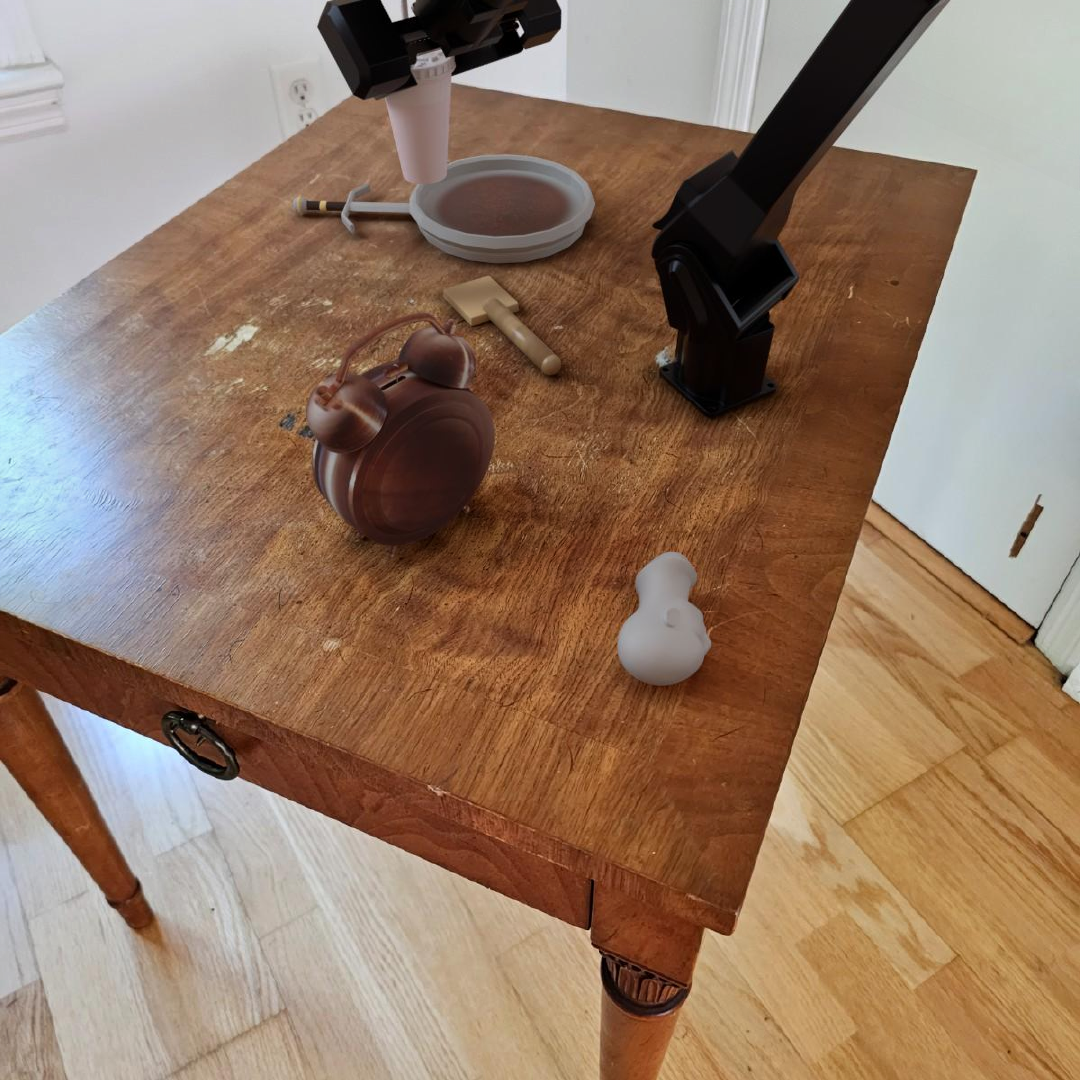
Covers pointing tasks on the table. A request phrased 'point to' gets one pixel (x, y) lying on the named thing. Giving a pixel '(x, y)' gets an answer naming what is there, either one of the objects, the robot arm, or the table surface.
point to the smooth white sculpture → (664, 624)
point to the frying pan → (489, 208)
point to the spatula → (500, 318)
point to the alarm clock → (402, 436)
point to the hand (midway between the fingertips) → (407, 83)
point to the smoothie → (423, 117)
